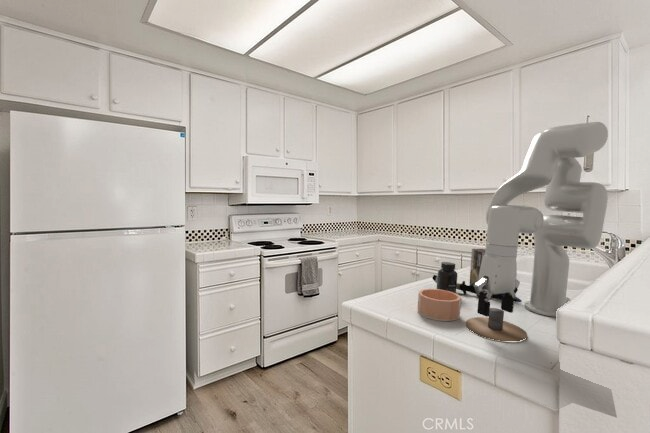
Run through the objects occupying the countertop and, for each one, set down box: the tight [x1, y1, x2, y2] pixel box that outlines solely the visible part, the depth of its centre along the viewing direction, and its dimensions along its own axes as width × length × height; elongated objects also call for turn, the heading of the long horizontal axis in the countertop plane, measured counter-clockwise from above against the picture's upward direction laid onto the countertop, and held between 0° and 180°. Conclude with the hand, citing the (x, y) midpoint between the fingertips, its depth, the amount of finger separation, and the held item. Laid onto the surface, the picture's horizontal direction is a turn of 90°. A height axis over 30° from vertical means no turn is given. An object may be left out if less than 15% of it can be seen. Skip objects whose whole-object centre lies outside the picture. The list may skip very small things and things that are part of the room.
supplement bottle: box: [436, 261, 458, 294], centre depth 120 cm, size 7×7×12 cm
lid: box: [465, 307, 528, 342], centre depth 90 cm, size 15×15×6 cm
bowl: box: [417, 288, 462, 322], centre depth 101 cm, size 12×12×6 cm
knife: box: [432, 274, 522, 303], centre depth 121 cm, size 31×3×4 cm, turn 60°
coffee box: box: [468, 248, 486, 286], centre depth 127 cm, size 9×6×16 cm
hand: (495, 312), depth 89 cm, fingers open, 9 cm apart
